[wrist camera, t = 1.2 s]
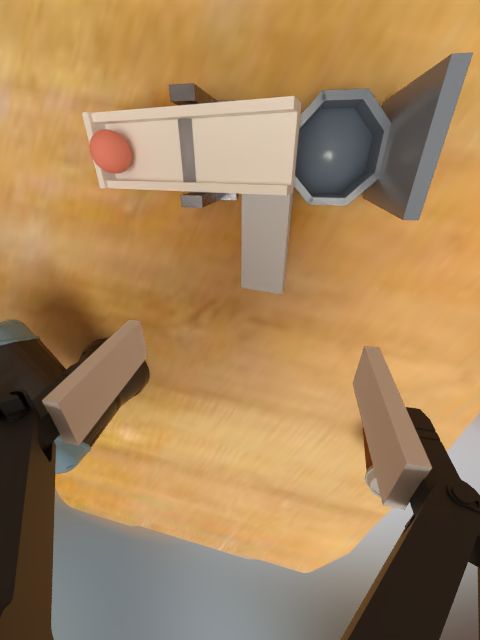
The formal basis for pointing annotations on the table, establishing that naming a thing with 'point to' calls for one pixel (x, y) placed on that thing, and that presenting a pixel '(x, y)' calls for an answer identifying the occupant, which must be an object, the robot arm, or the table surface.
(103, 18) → the table surface
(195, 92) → the trough stand
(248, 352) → the table surface
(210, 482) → the table surface
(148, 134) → the lever
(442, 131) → the cup
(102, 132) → the rubber ball
